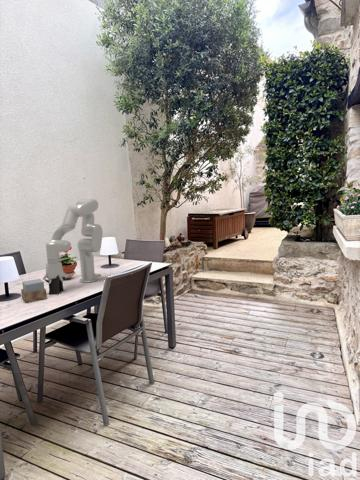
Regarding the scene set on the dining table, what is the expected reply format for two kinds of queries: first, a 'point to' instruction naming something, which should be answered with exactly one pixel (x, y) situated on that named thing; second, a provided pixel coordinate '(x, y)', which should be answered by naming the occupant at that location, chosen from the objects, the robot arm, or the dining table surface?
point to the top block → (33, 285)
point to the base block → (33, 296)
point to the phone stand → (55, 286)
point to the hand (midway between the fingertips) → (56, 287)
